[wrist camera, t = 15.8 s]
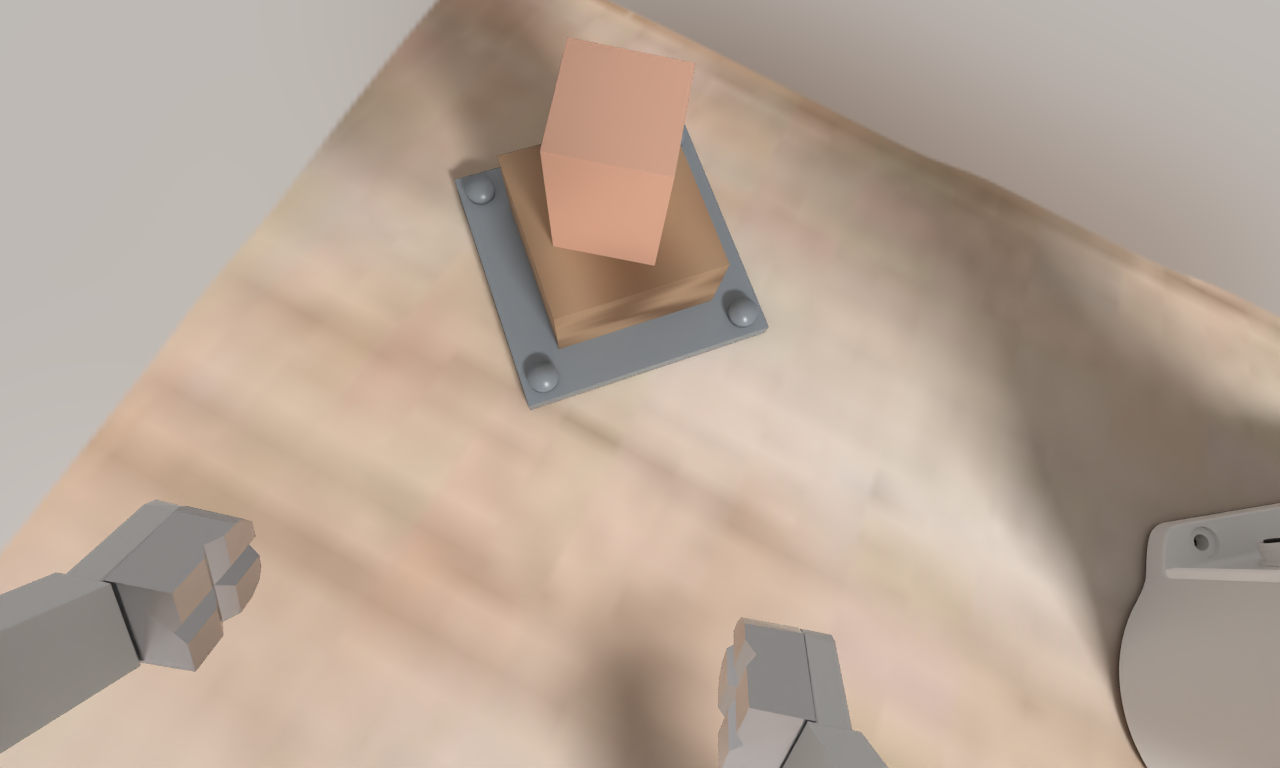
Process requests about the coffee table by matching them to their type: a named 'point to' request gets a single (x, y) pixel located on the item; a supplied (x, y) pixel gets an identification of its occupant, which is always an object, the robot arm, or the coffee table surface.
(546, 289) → the walnut base brick
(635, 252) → the terracotta block
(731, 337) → the baseplate
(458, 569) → the coffee table surface
